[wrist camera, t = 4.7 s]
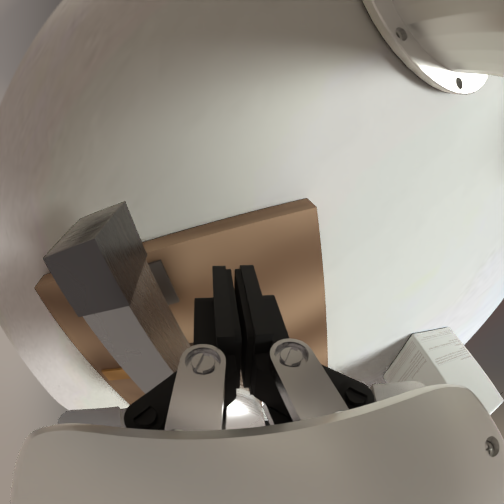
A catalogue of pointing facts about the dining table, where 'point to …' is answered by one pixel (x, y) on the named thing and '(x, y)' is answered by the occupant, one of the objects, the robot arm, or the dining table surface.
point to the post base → (201, 279)
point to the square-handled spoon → (128, 303)
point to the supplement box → (442, 365)
